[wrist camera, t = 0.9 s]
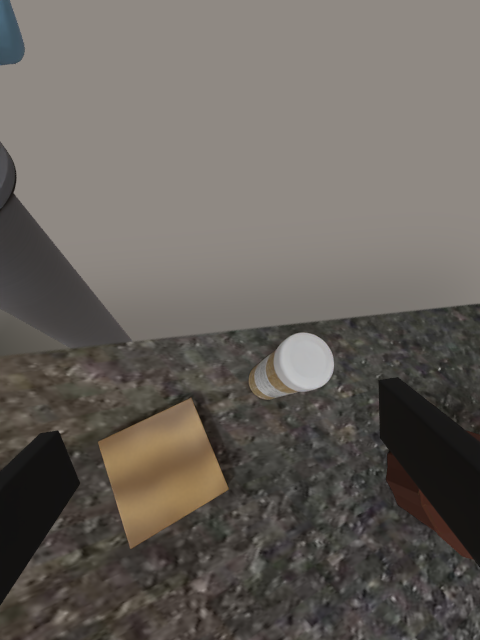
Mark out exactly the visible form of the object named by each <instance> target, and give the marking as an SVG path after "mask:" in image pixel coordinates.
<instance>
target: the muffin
mask: <svg viewBox="0 0 480 640" xmlns="http://www.w3.org/2000/svg"><path fill="white" fill-rule="evenodd" d="M467 432H468V433H470V434H471V435H472V436H473V437H475V438H476V439H477V440H478V441H480V435H479V434H476V433H472V432H469V431H467ZM387 465H388V468H387V475H386V481H387V482H388V484H389V486H390V488H391V490H392V491H393V494H394V496H395V499H396V502H397V504H398V506H400V507H401V508H403V509H404V510H406V511H407V512H409V513H410V514H412V515H413V516H415V517H416V518H417V519H418V520H419V521H421V522H422V523H424V524H425V525H427V526H428V527H430V528H431V529H433V530H434V531H436V532H437V534H438V535H439V536H440V537H441V538H442V539H443V540H445V541H446V542H447V543H448V544H449V545H450V546H451V547H452V548H454V549H455V550H456V551H457V552H458V553H459V554H460V555H461V556H463V557H466V558H470V559H473V558H472V556H471V555H470V554H469V553H468V551H467V550H466V549H465V547H464V546H463V545H462V543H461V542H460V541H459V540H458V538H457V537H456V536H455V534H454V533H453V532H452V531H451V529H450V528H449V527H448V525H447V524H446V523H445V521H444V520H443V519H442V518H441V516H440V515H439V514H438V512H437V511H436V510H435V508H434V507H433V506H432V505H431V503H430V502H429V501H428V499H427V498H426V497H425V496H424V494H423V493H422V492H421V490H420V489H419V488H418V486H417V485H416V484H415V483H414V481H413V480H412V479H411V477H410V476H409V475H408V473H407V472H406V471H405V470H404V468H403V467H402V466H401V464H400V463H399V462H398V461H397V459H396V458H395V457H394V455H393V454H392V453H391V451H390V452H389V453H388V454H387ZM473 560H474V559H473Z"/></svg>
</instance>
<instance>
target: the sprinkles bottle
mask: <svg viewBox="0 0 480 640" xmlns="http://www.w3.org/2000/svg"><path fill="white" fill-rule="evenodd" d="M333 369H334V359H333V355H332V352H331V350H330V348H329V347H328V345H327V344H326V343H325V342H324V341H323V340H322V339H321V338H319V337H318V336H316V335H313V334H310V333H296V334H294V335H291V336H290V337H288V338H287V339H286V340H284V341H283V342H282V343H281V344H280V345H279V346H278V348H277V349H276V351H275V352H273V353H272V354H270V355H269V356H267V357H266V358H265V359H264V360H263V361H261V362H260V363H259V364H258V365H257V366H255V367H254V368H253V369H252V371H251V373H250V375H249V386H250V389H251V390H252V392H253V393H254V394H255V395H256V396H258V397H259V398H261V399H268V400H269V399H273V398H275V397H280V396H285V395H288V394H292V393H296V392H298V391H301V392H305V391H310V390H314V389H317V388H319V387H321V386H323V385H324V384H326V383H327V382H328V380H329V379H330V377H331V376H332V373H333Z"/></svg>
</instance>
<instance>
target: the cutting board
mask: <svg viewBox="0 0 480 640" xmlns="http://www.w3.org/2000/svg"><path fill="white" fill-rule="evenodd" d="M98 443H99V447H100V450H101V453H102V457H103V460H104V463H105V466H106V470H107V473H108V476H109V480H110V483H111V486H112V490H113V493H114V496H115V500H116V503H117V506H118V509H119V513H120V516H121V519H122V523H123V526H124V529H125V533H126V536H127V539H128V542H129V546H130V549H132V548H133V547H135V546H137V545H138V544H140V543H142V542H143V541H145V540H146V539H148V538H150V537H151V536H153V535H155V534H156V533H158V532H160V531H161V530H163V529H165V528H166V527H168V526H170V525H171V524H173V523H174V522H176V521H178V520H179V519H181V518H183V517H184V516H186V515H188V514H189V513H191V512H193V511H194V510H196V509H197V508H199V507H201V506H202V505H204V504H206V503H207V502H209V501H211V500H212V499H214V498H216V497H217V496H219V495H221V494H222V493H224V492H225V491H227V490H229V488H228V486H227V483H226V481H225V478H224V476H223V473H222V471H221V469H220V466H219V464H218V461H217V459H216V456H215V454H214V452H213V449H212V447H211V444H210V442H209V439H208V437H207V435H206V432H205V430H204V427H203V425H202V422H201V420H200V417H199V415H198V413H197V410H196V408H195V405H194V403H193V400H192V398H189V399H187V400H185V401H183V402H181V403H179V404H176V405H174V406H172V407H170V408H168V409H166V410H164V411H162V412H160V413H157V414H155V415H153V416H151V417H149V418H147V419H145V420H143V421H141V422H138V423H136V424H134V425H132V426H130V427H128V428H126V429H124V430H122V431H119V432H117V433H115V434H113V435H111V436H109V437H107V438H105V439H103V440H100V441H98Z"/></svg>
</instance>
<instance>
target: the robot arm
mask: <svg viewBox="0 0 480 640" xmlns="http://www.w3.org/2000/svg"><path fill="white" fill-rule="evenodd" d="M24 52H25V48H24V43H23V39H22V35H21V32H20V29H19V26H18V23H17V20H16V17H15V14H14V12H13V9H12V6H11V3H10V0H0V65H7V64H16V63H17V62H19V61H21V59H22V57H23V55H24ZM379 416H380V438H381V440H382V441H383V442H384V444H385V445H386V446H387V448H388V449H389V450H390V451H391V453H392V454H393V455H394V457H395V458H396V459H397V461H398V462H399V463H400V464H401V466H402V467H403V468H404V470H405V471H406V472H407V473H408V475H409V476H410V477H411V479H412V480H413V481H414V483H415V484H416V485H417V486H418V488H419V489H420V490H421V492H422V493H423V494H424V496H425V497H426V498H427V499H428V501H429V502H430V503H431V505H432V506H433V507H434V508H435V510H436V511H437V512H438V514H439V515H440V516H441V518H442V519H443V520H444V521H445V523H446V524H447V525H448V527H449V528H450V529H451V531H452V532H453V533H454V534H455V536H456V537H457V538H458V540H459V541H460V542H461V543H462V545H463V546H464V547H465V549H466V550H467V551H468V553H469V554H470V555H471V556H472V558H473V559H474V560H475V562H476V563H477V564H478V566H479V567H480V441H478V440H477V439H476V438H475V437H473V436H472V435H471V434H470V433H468V432H467V431H466V430H464V429H463V428H462V427H461V426H459V425H458V424H457V423H455V422H454V421H453V420H452V419H450V418H449V417H448V416H447V415H445V414H444V413H443V412H441V411H440V410H439V409H438V408H436V407H435V406H434V405H433V404H431V403H430V402H429V401H427V400H426V399H425V398H424V397H422V396H421V395H420V394H419V393H417V392H416V391H415V390H413V389H412V388H411V387H410V386H408V385H407V384H406V383H405V382H403V381H402V380H401V379H399V378H398V377H396V378H390V379H383V380H379ZM79 485H80V482H79V479H78V477H77V475H76V472H75V470H74V467H73V465H72V462H71V460H70V457H69V455H68V453H67V450H66V448H65V445H64V443H63V440H62V438H61V435H60V433H59V431H52V432H46V433H40V434H39V435H38V436H37V437H36V438H35V439H34V440H33V441H32V442H31V443H30V444H29V445H28V446H27V447H25V448H24V449H23V450H22V451H21V452H20V453H19V454H18V455H17V456H16V457H15V458H14V459H13V460H12V461H11V462H10V463H9V464H8V465H7V466H6V467H4V468H3V469H2V470H1V471H0V605H1V604H2V602H3V600H4V599H5V597H6V596H7V594H8V593H9V591H10V590H11V588H12V587H13V585H14V584H15V582H16V581H17V579H18V578H19V576H20V575H21V573H22V571H23V570H24V568H25V567H26V565H27V564H28V562H29V561H30V559H31V558H32V556H33V555H34V553H35V552H36V550H37V549H38V547H39V546H40V544H41V543H42V541H43V539H44V538H45V536H46V535H47V533H48V532H49V530H50V529H51V527H52V526H53V524H54V523H55V521H56V520H57V518H58V517H59V515H60V514H61V512H62V510H63V509H64V507H65V506H66V504H67V503H68V501H69V500H70V498H71V497H72V495H73V494H74V492H75V491H76V489H77V488H78V486H79Z"/></svg>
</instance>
